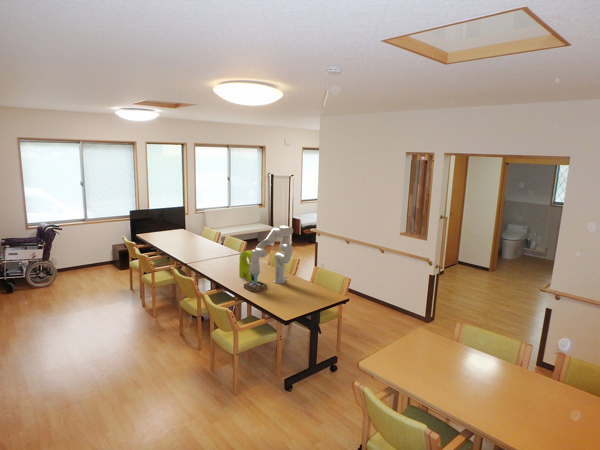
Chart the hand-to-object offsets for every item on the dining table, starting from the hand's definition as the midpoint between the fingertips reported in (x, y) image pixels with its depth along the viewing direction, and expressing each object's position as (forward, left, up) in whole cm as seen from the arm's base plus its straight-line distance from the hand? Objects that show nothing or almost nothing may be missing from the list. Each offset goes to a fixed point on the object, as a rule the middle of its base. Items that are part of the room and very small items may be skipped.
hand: (254, 280), depth 370 cm
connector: (0, 0, -3) cm, 3 cm away
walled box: (0, +1, -8) cm, 9 cm away
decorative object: (-14, -27, -9) cm, 32 cm away
